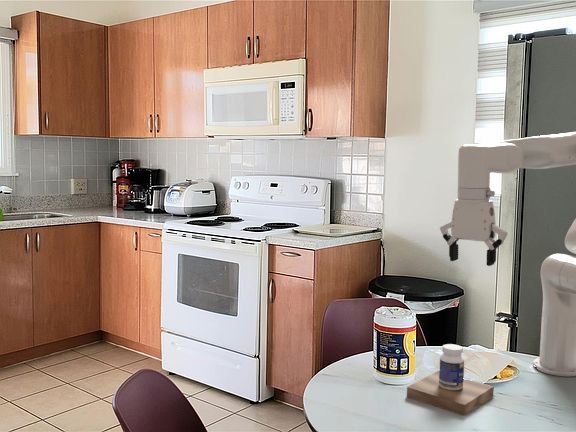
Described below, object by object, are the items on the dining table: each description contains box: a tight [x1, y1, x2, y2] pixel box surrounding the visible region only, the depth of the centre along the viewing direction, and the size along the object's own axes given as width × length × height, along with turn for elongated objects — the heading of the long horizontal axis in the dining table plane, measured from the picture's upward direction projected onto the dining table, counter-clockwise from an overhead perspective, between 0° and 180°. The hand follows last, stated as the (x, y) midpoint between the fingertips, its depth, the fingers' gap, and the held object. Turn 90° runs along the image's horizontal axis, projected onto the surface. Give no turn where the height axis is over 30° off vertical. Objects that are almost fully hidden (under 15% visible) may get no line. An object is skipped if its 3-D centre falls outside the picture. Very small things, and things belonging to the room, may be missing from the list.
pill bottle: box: [438, 343, 465, 390], centre depth 152 cm, size 6×6×10 cm
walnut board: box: [406, 370, 495, 416], centre depth 152 cm, size 15×15×2 cm
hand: (471, 262), depth 158 cm, fingers open, 9 cm apart
